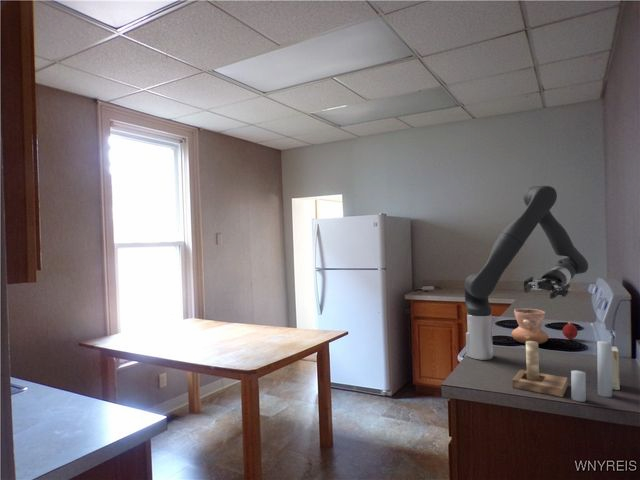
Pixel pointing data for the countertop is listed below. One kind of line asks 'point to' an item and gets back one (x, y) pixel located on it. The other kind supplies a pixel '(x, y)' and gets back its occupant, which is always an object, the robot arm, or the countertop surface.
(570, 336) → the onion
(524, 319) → the ceramic jug
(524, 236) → the robot arm
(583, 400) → the short grey dowel
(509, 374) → the countertop surface
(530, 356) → the beech dowel
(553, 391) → the wooden board with hole
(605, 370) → the tall grey dowel
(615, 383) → the skincare box
